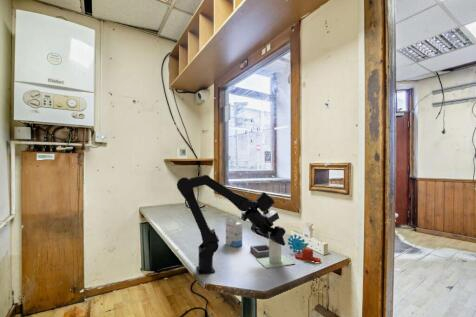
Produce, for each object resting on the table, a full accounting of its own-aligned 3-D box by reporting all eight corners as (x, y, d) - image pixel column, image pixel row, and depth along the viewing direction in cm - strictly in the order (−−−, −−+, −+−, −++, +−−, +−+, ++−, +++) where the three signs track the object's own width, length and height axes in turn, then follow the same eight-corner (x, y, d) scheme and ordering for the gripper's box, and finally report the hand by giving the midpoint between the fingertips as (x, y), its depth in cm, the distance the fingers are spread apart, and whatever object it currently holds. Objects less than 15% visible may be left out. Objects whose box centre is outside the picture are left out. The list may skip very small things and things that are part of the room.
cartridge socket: (275, 255, 111) (275, 250, 111) (257, 257, 108) (257, 252, 108) (266, 249, 120) (266, 244, 120) (250, 251, 117) (250, 246, 117)
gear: (290, 251, 112) (286, 232, 119) (286, 257, 116) (282, 238, 123) (311, 253, 114) (307, 235, 121) (306, 259, 118) (302, 240, 125)
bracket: (293, 258, 109) (293, 247, 109) (296, 255, 112) (296, 245, 112) (319, 264, 102) (319, 252, 103) (321, 261, 106) (321, 250, 106)
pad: (295, 264, 101) (295, 263, 101) (265, 268, 97) (265, 267, 97) (283, 256, 111) (283, 255, 111) (256, 259, 106) (256, 258, 106)
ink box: (242, 245, 126) (242, 217, 126) (236, 247, 122) (236, 218, 123) (231, 241, 132) (231, 215, 132) (225, 243, 128) (225, 216, 129)
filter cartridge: (283, 262, 102) (284, 230, 103) (272, 264, 100) (272, 231, 101) (277, 257, 107) (277, 227, 108) (266, 259, 106) (266, 227, 106)
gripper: (282, 208, 95) (302, 232, 100) (256, 202, 111) (274, 223, 116) (266, 230, 91) (288, 254, 96) (241, 220, 107) (261, 241, 112)
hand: (277, 241), depth 105 cm, fingers open, 9 cm apart
